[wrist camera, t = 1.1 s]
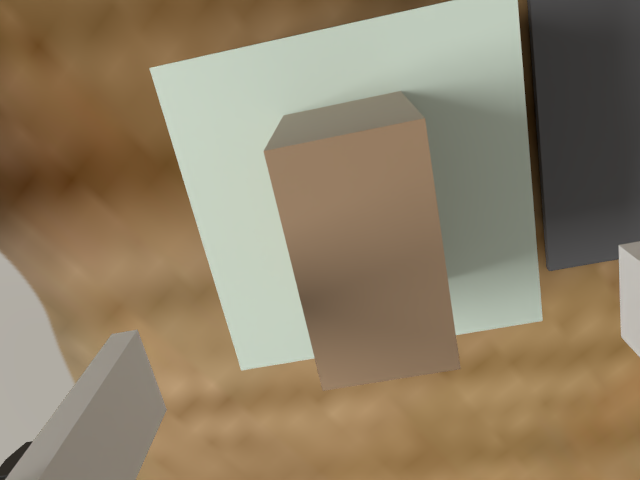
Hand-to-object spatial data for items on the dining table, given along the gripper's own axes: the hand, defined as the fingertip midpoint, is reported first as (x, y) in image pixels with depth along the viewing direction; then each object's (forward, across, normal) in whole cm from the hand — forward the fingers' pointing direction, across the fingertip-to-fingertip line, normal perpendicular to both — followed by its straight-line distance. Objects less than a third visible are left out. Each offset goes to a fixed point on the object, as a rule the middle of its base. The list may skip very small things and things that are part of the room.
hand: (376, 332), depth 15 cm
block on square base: (+13, 0, 0) cm, 13 cm away
